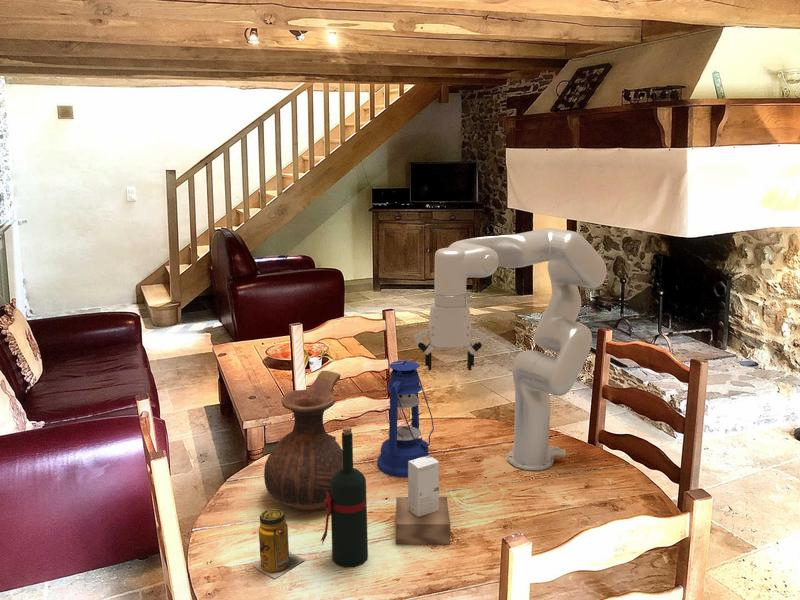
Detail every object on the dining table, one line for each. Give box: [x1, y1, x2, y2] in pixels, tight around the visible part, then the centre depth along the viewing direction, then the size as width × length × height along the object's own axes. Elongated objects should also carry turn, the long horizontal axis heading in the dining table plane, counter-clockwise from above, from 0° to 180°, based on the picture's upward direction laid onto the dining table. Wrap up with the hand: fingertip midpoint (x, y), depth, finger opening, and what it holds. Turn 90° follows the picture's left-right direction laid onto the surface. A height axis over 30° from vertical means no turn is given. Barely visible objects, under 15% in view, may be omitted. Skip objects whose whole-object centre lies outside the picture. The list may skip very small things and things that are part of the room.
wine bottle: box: [320, 425, 369, 568], centre depth 151 cm, size 8×10×30 cm
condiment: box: [252, 508, 306, 579], centre depth 151 cm, size 7×8×12 cm
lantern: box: [376, 359, 435, 478], centre depth 194 cm, size 17×15×30 cm
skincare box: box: [407, 455, 440, 517], centre depth 163 cm, size 6×4×12 cm
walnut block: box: [395, 496, 451, 545], centre depth 165 cm, size 12×12×5 cm
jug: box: [263, 370, 343, 511], centre depth 176 cm, size 22×22×30 cm
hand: (449, 368), depth 174 cm, fingers open, 9 cm apart
